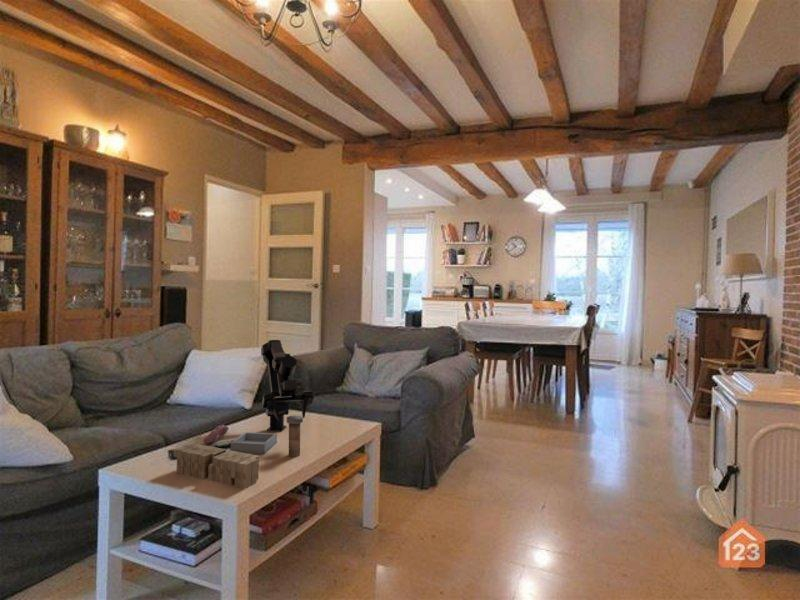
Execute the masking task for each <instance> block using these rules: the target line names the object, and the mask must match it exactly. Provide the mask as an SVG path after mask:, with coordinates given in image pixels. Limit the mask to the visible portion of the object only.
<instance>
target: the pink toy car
mask: <svg viewBox="0 0 800 600" xmlns="http://www.w3.org/2000/svg"><path fill="white" fill-rule="evenodd" d="M228 431H229V427H228V426H227V425H224V424H221V425H217V426H216V427H215V428H214V429H212V430H211V432H210V433H209V434H208V435H207V436H205V437H204V438H203V440H202V443H203V444H204V443H207V444H210V443H211V442H214V443H216V442H218V440H221V439H223V437H224V436H225V435H226V434H227V433H228Z"/></svg>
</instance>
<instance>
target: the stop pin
mask: <svg viewBox="0 0 800 600" xmlns="http://www.w3.org/2000/svg"><path fill="white" fill-rule="evenodd" d="M303 420H304V418H303V416H302V415H295V414H294V415H288V416H286V423H287V424H288V457H290V456H291V457H290V458H296V457H299V456H301V423H303Z"/></svg>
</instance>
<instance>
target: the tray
mask: <svg viewBox="0 0 800 600" xmlns="http://www.w3.org/2000/svg"><path fill="white" fill-rule="evenodd" d="M277 443H278V434H277V433H270V432H269V433H268V432H247V431H246V432H244V433H242V434H240V436H238V437H237V438H235V439H234V440H232V441H231V442H230V450H231V451H236V452H242V453H247V454H252V455H265V454H267V453H268V451H270V450H271V449H272V448H273V447H274V446H275V445H276V444H277ZM269 449H270V450H269Z"/></svg>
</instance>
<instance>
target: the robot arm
mask: <svg viewBox="0 0 800 600" xmlns="http://www.w3.org/2000/svg"><path fill="white" fill-rule="evenodd" d="M260 355H261V356H262V359H263V360H262V361H263V362H264V363H265V364H266V365H267V370H268V379H269V387H270V388H269V389H270V393H264V394H263V396H262V401H261V405H262V408H263V409H265V415H266V416H267V417H269V427H268V428H267V429H266V431H268V432H269V431H271V432H282V431H284V430H285V429H286V428H288V427H287V425H285V415H288V416H289V414H290V413H289V412H290V411H289V410H290V405H291V404H290V402H297V401H298V402H299V401H300V402H301V405H300V406H301V416H302V417H303V419H305V417H306V410H307V407H309V406H310V405H311V404H313V401H314V400H315V399H314V398H315V392H314V391H313V390H303V391H302V394H300V395H299V394H298V388H301V387H302V386H303V380H302V378H301V377H300V378H299V377H298V378H296V379H294V377H293V375H294V374H295V371H296V367H297V363H298V362H297V359H296V358H295V357H294V356H291V353H286V352H285V350H284V348H283V344H282V341H281V340H280V339H269V340H268V341H267V342H266V343H264V344H262V346H261V349H260ZM296 394H298V395H296Z"/></svg>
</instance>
